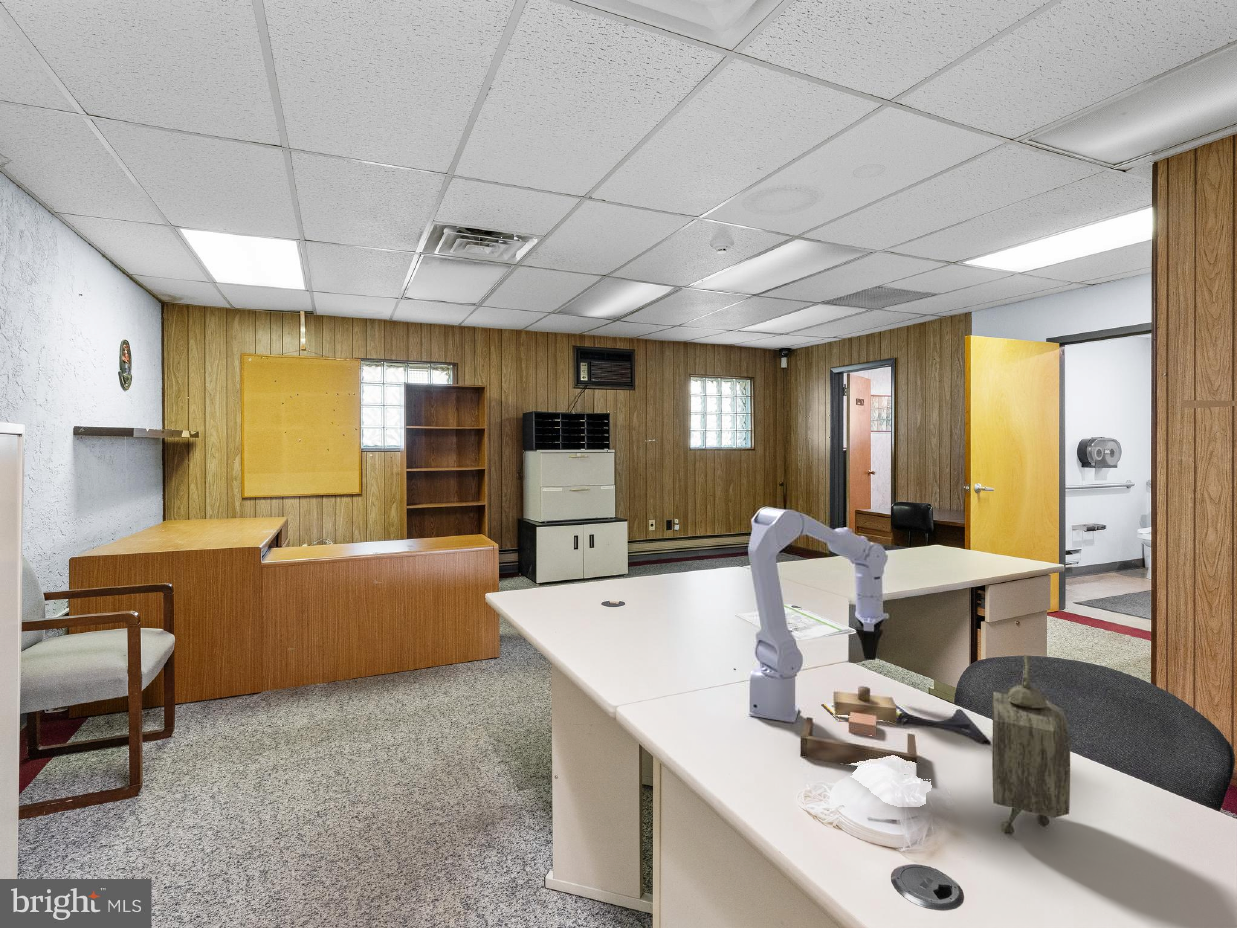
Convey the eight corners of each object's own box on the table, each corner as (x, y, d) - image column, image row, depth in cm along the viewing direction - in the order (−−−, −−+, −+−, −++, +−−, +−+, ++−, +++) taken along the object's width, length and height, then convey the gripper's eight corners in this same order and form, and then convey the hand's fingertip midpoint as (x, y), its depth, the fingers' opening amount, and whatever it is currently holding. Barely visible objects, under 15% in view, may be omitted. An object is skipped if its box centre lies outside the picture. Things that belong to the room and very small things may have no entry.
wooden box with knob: (835, 717, 132) (835, 690, 132) (833, 706, 137) (833, 680, 137) (896, 724, 128) (896, 696, 128) (892, 713, 134) (892, 686, 134)
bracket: (889, 711, 136) (889, 699, 136) (963, 716, 133) (963, 703, 133) (907, 742, 122) (908, 728, 122) (990, 748, 119) (990, 734, 119)
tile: (848, 733, 124) (848, 721, 124) (850, 723, 129) (850, 711, 129) (875, 738, 122) (875, 725, 122) (876, 728, 127) (876, 715, 127)
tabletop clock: (992, 791, 103) (993, 640, 102) (1058, 806, 98) (1060, 649, 98) (993, 837, 90) (995, 666, 90) (1070, 858, 86) (1072, 678, 85)
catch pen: (800, 756, 114) (800, 737, 114) (806, 734, 123) (806, 716, 123) (917, 777, 107) (917, 757, 107) (914, 753, 115) (914, 734, 115)
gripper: (888, 603, 133) (889, 666, 133) (888, 588, 146) (889, 645, 146) (852, 601, 135) (854, 662, 136) (856, 586, 149) (857, 642, 149)
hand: (870, 653), depth 141 cm, fingers open, 7 cm apart
